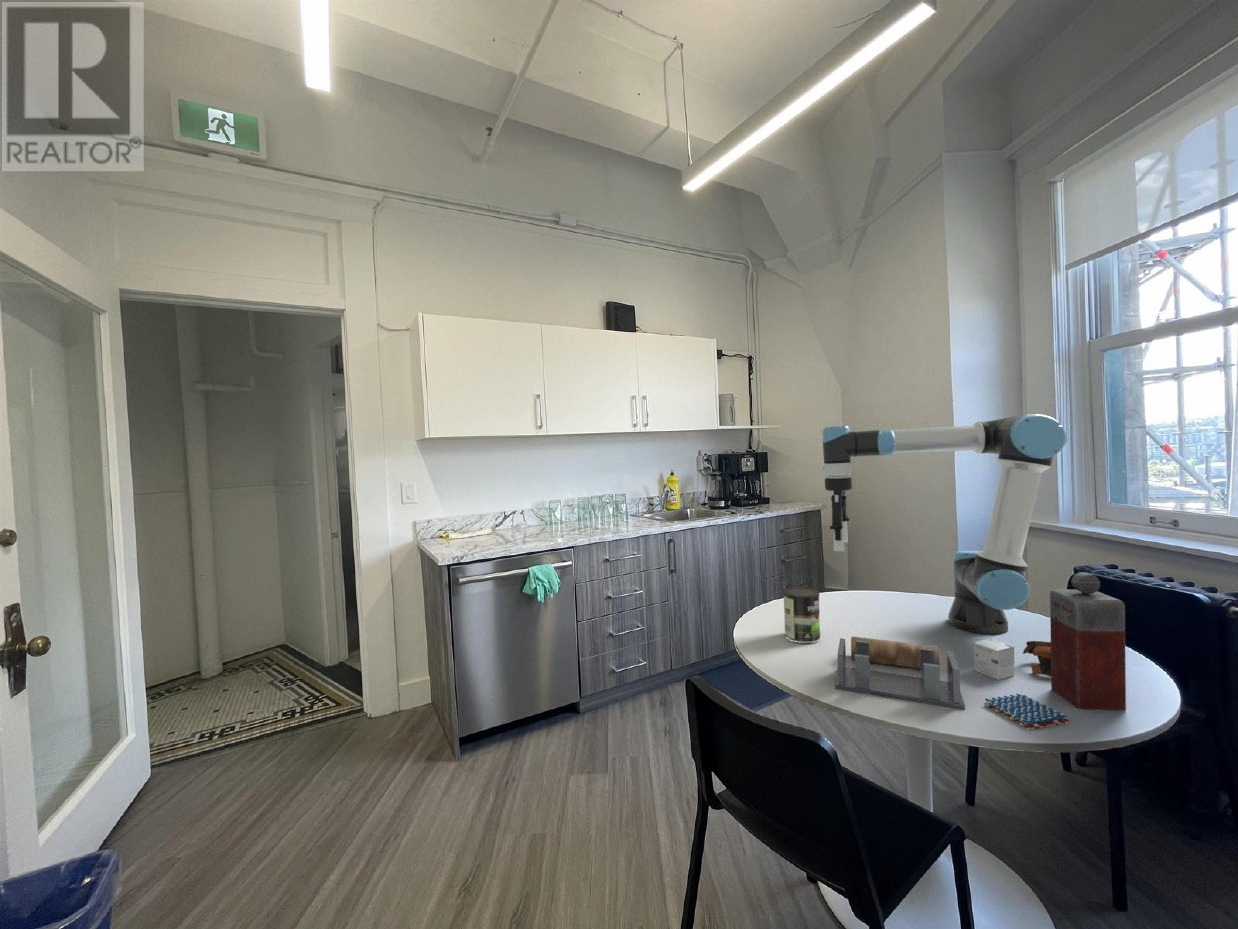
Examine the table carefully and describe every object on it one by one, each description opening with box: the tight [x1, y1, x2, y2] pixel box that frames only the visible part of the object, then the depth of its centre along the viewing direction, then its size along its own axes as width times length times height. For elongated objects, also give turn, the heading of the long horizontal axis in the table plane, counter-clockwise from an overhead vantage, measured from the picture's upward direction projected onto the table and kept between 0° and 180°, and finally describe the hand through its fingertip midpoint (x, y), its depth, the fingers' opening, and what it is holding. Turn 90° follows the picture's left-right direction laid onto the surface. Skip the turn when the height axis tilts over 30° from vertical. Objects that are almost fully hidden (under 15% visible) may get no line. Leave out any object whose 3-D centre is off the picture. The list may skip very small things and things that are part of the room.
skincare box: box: [973, 638, 1015, 681], centre depth 126 cm, size 6×6×7 cm
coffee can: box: [782, 586, 821, 644], centre depth 154 cm, size 10×10×14 cm
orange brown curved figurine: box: [1022, 640, 1051, 677], centre depth 125 cm, size 12×10×8 cm
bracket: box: [834, 637, 966, 710], centre depth 121 cm, size 26×11×8 cm, turn 63°
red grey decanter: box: [1049, 572, 1127, 711], centre depth 113 cm, size 9×11×28 cm
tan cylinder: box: [850, 636, 940, 669], centre depth 134 cm, size 20×6×6 cm, turn 63°
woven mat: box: [984, 693, 1070, 730], centre depth 107 cm, size 10×11×2 cm
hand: (841, 546), depth 155 cm, fingers open, 13 cm apart
